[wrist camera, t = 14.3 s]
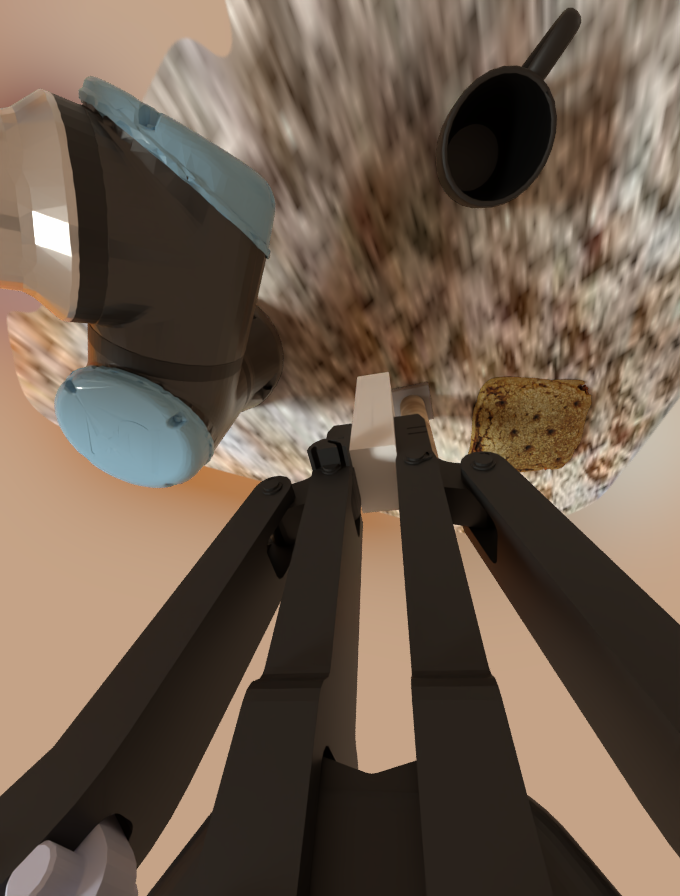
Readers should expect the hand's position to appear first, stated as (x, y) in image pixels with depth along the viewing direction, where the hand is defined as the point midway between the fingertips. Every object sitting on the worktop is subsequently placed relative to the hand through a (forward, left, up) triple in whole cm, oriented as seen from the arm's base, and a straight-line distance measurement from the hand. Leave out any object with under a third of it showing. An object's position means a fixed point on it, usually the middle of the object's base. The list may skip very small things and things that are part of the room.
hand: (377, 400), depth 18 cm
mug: (+13, +11, -29) cm, 34 cm away
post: (+2, -15, -29) cm, 33 cm away
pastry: (+16, -21, -30) cm, 40 cm away
